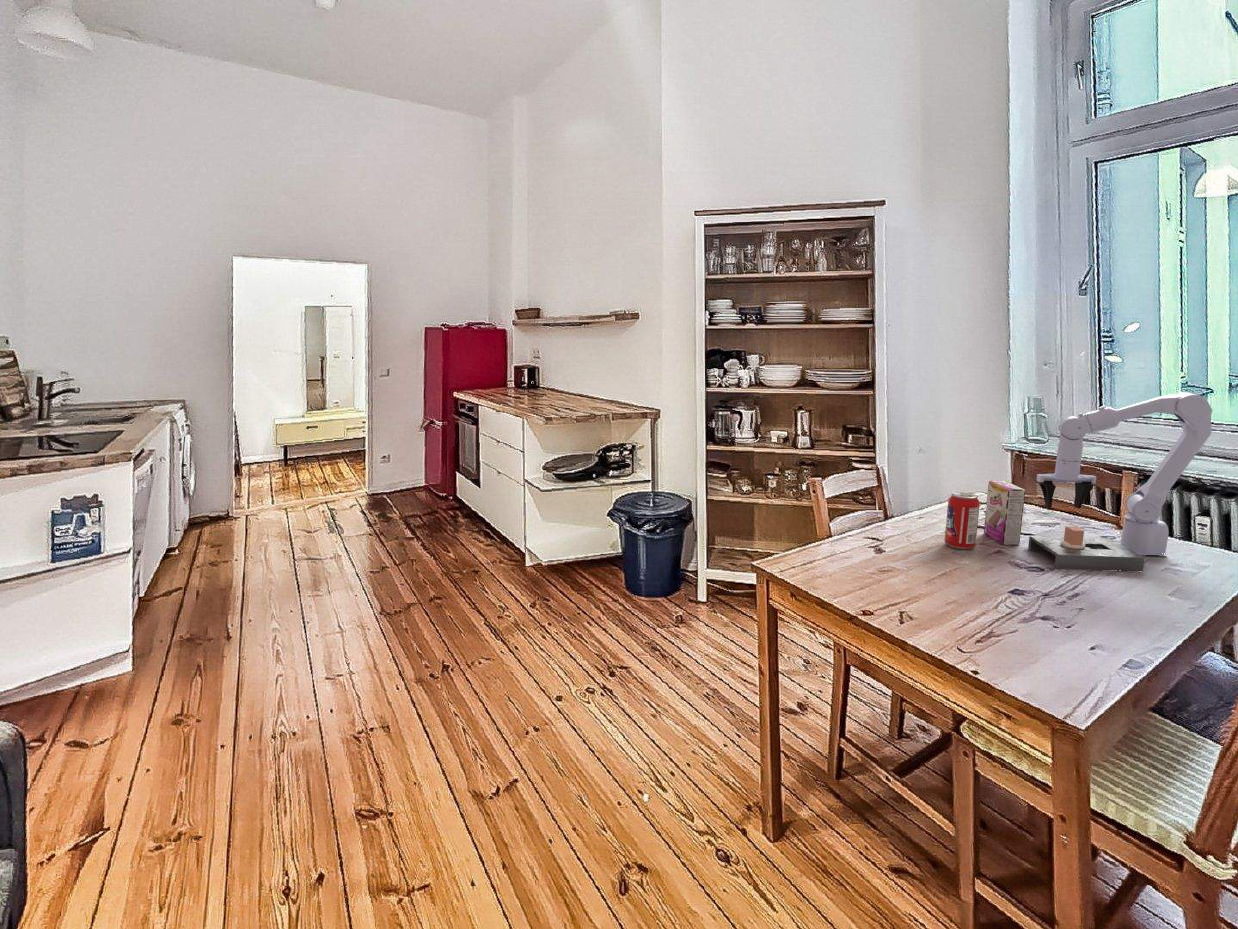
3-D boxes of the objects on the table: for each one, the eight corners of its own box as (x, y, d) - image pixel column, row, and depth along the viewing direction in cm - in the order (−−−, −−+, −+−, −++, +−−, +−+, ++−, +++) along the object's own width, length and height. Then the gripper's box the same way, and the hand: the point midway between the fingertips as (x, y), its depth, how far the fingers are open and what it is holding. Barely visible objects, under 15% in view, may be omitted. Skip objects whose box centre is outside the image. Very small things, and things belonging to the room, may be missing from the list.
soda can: (972, 552, 183) (977, 499, 180) (941, 547, 188) (946, 495, 185) (977, 545, 189) (982, 493, 186) (947, 540, 194) (952, 490, 191)
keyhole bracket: (1106, 551, 183) (1108, 538, 183) (1142, 572, 168) (1145, 557, 167) (1028, 548, 186) (1029, 535, 185) (1056, 568, 170) (1058, 554, 170)
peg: (1076, 551, 179) (1080, 525, 178) (1087, 558, 174) (1091, 531, 172) (1055, 550, 180) (1058, 525, 178) (1065, 557, 175) (1069, 531, 173)
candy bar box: (982, 533, 200) (987, 480, 197) (999, 533, 200) (1004, 480, 196) (1002, 545, 189) (1008, 489, 186) (1020, 545, 189) (1026, 489, 185)
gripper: (1089, 457, 189) (1082, 504, 192) (1034, 456, 191) (1028, 502, 194) (1103, 462, 183) (1096, 510, 185) (1046, 461, 185) (1040, 509, 187)
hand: (1062, 507), depth 189 cm, fingers open, 7 cm apart
